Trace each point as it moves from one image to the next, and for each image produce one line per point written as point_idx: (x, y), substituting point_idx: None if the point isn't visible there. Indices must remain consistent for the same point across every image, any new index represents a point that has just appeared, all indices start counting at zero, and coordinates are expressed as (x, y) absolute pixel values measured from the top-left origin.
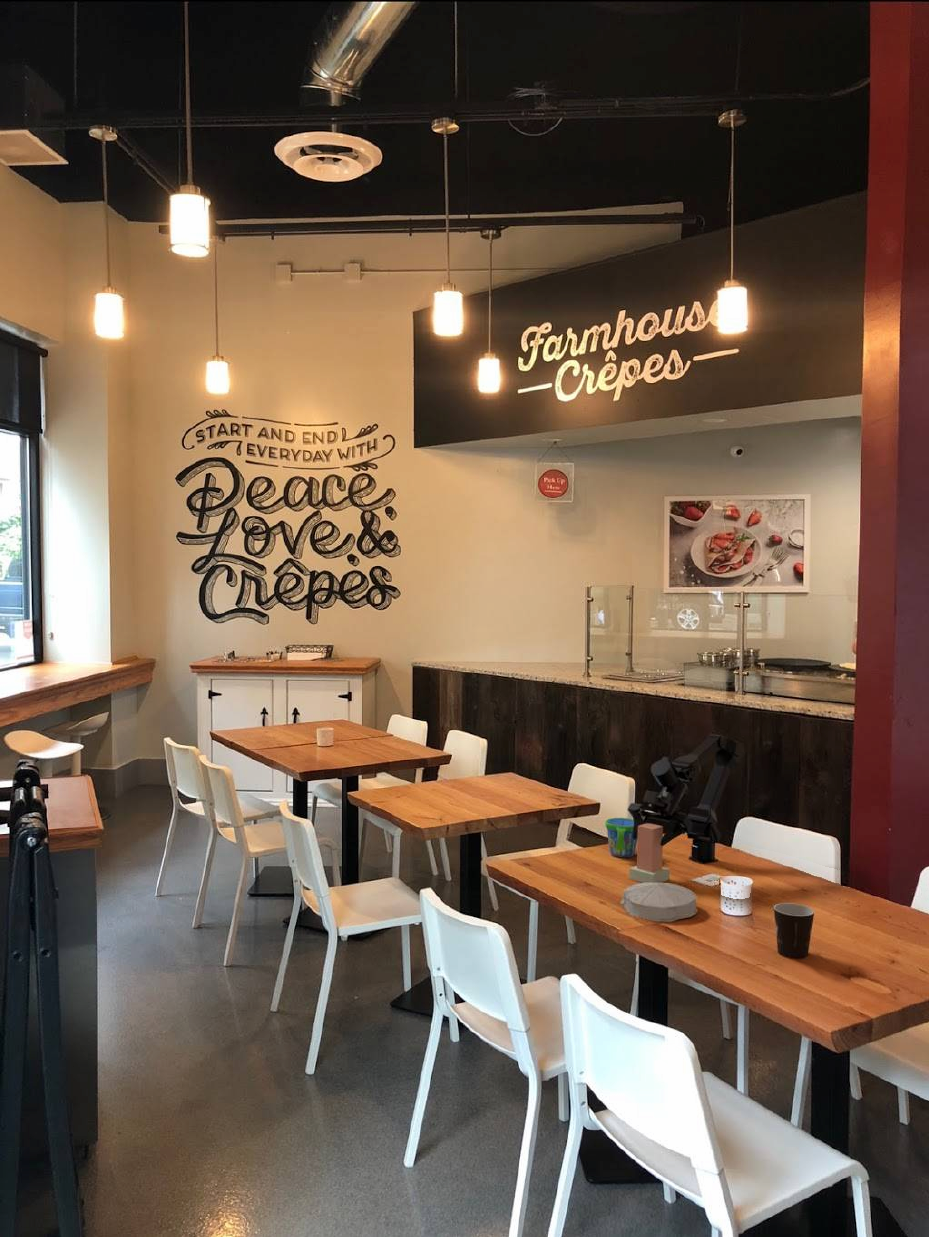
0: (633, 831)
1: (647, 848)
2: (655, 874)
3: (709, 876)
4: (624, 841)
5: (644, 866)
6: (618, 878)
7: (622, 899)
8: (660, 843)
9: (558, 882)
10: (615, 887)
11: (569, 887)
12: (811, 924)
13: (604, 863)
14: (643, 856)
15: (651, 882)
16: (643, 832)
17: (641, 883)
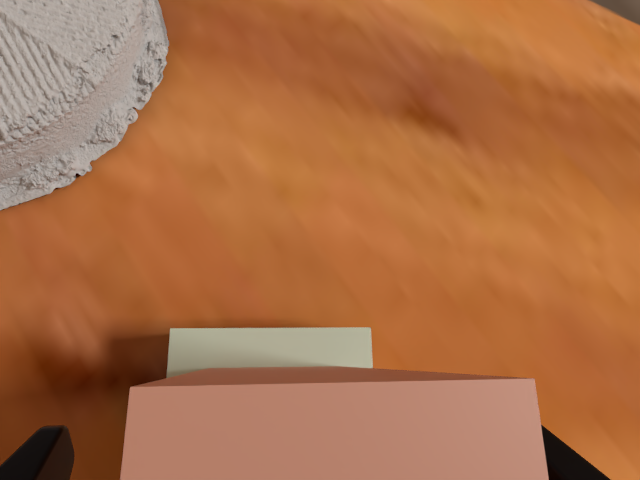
0: (590, 468)
1: (257, 371)
2: (168, 353)
3: None
4: None
5: (276, 367)
6: (396, 295)
7: (157, 3)
8: (57, 430)
9: (514, 59)
10: (311, 160)
11: (442, 35)
12: None
13: (629, 476)
14: (296, 368)
15: (27, 77)
16: (359, 377)
17: (85, 45)
